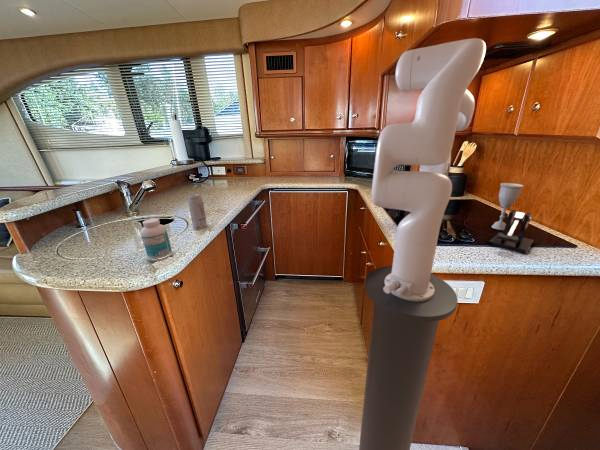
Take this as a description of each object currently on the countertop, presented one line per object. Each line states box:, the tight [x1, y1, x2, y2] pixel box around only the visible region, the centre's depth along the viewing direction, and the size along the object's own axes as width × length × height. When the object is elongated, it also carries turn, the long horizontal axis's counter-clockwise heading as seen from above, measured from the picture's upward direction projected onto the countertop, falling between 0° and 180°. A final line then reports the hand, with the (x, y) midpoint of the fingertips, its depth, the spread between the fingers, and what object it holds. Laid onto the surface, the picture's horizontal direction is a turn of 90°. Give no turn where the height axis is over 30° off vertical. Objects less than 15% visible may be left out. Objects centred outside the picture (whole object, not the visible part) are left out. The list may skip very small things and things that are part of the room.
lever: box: [498, 211, 526, 243], centre depth 79 cm, size 12×5×2 cm, turn 129°
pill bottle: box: [140, 218, 173, 262], centre depth 80 cm, size 8×7×14 cm
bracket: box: [488, 209, 535, 255], centre depth 82 cm, size 12×10×12 cm
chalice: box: [491, 182, 524, 231], centre depth 95 cm, size 7×7×18 cm
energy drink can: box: [187, 193, 208, 230], centre depth 107 cm, size 6×6×15 cm
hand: (430, 191), depth 100 cm, fingers closed
